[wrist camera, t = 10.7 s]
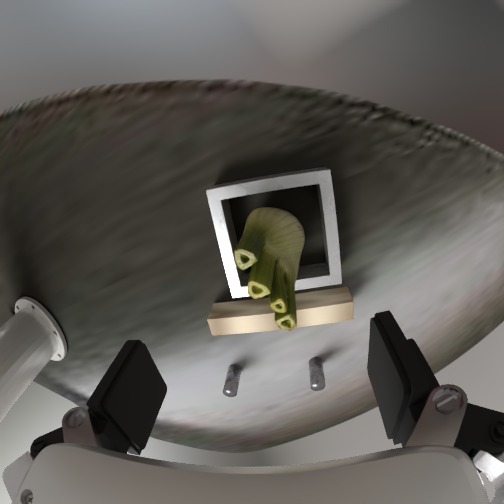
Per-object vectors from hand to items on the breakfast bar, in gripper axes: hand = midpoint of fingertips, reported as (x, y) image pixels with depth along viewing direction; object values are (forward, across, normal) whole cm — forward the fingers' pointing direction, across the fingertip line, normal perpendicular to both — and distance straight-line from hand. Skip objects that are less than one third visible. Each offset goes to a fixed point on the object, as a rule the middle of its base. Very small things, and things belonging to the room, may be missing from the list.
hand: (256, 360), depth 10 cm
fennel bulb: (+17, -1, 0) cm, 17 cm away
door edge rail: (+17, 0, +8) cm, 18 cm away
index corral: (+17, -1, 0) cm, 17 cm away
